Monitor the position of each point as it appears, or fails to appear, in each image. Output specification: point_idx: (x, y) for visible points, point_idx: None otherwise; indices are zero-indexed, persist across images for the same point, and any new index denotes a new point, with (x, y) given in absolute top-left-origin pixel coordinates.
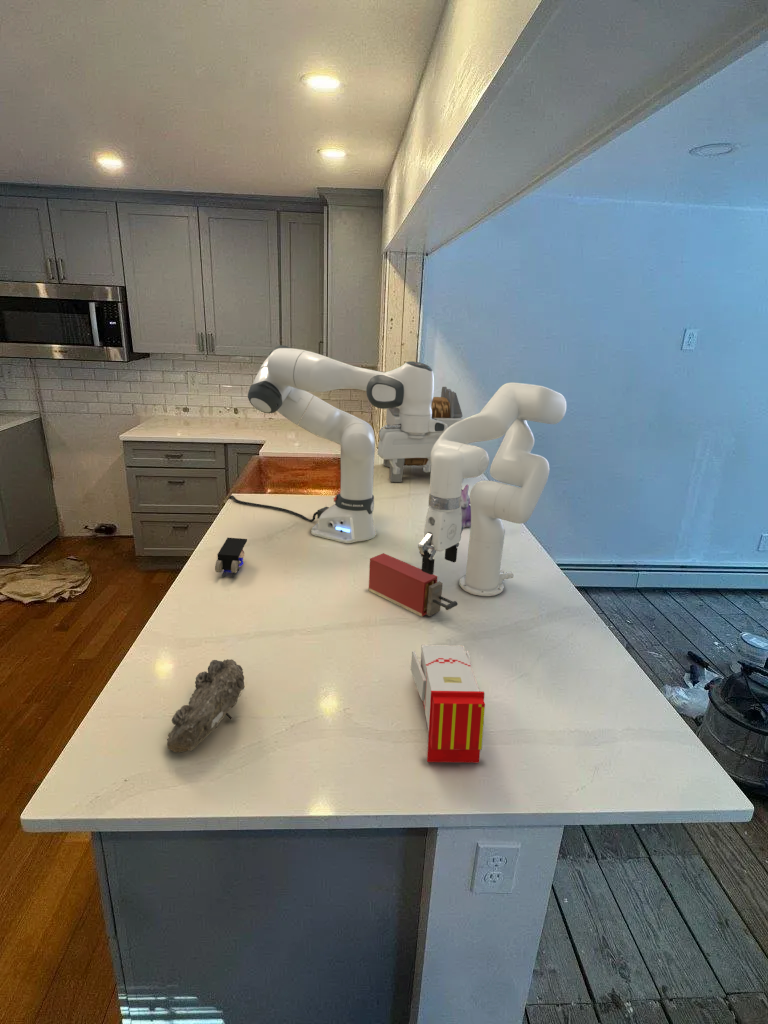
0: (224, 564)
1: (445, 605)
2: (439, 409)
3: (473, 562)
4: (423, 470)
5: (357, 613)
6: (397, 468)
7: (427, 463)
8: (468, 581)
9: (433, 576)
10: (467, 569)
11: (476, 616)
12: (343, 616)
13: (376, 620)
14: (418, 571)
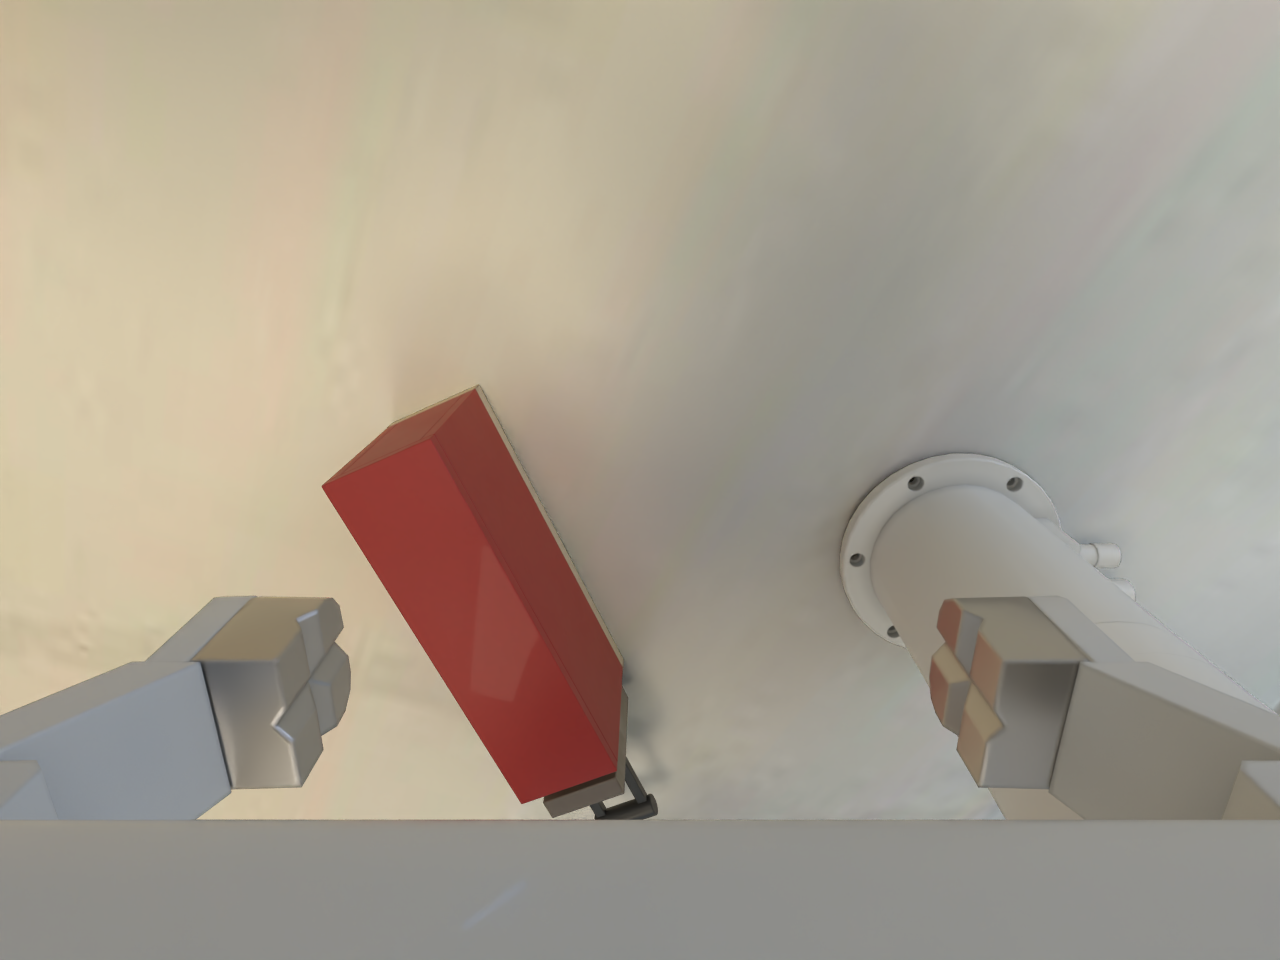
0: None
1: (599, 815)
2: None
3: (916, 657)
4: (946, 618)
5: (294, 590)
6: (230, 788)
7: (1121, 722)
8: (876, 575)
9: (594, 769)
10: (898, 582)
11: (756, 744)
12: (231, 593)
13: (359, 657)
14: (543, 705)
